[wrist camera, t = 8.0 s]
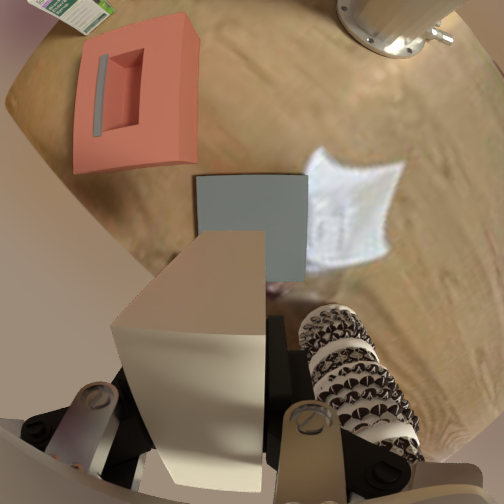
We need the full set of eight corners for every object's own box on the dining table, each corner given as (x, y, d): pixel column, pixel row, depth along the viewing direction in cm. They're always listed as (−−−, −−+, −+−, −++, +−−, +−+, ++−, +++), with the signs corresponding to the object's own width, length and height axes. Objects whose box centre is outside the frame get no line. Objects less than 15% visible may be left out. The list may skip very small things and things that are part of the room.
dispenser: (200, 39, 24) (184, 9, 17) (197, 163, 29) (177, 160, 22) (111, 58, 25) (81, 40, 18) (105, 172, 29) (69, 175, 22)
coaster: (307, 175, 29) (308, 175, 28) (303, 279, 32) (304, 281, 31) (197, 176, 29) (196, 176, 28) (203, 278, 33) (201, 280, 32)
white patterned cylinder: (335, 286, 32) (427, 467, 8) (374, 329, 34) (455, 481, 10) (280, 331, 34) (291, 523, 10) (323, 368, 36) (358, 529, 12)
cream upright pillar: (264, 230, 13) (266, 335, 5) (263, 350, 15) (260, 492, 6) (203, 230, 13) (109, 324, 5) (212, 349, 15) (175, 483, 7)
